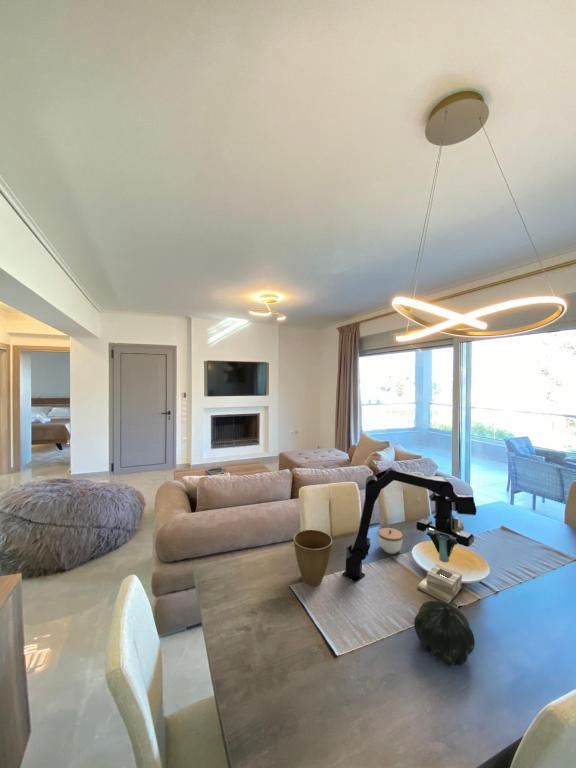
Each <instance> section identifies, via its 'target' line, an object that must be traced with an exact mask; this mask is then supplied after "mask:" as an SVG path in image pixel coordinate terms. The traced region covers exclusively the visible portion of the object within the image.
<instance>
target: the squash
mask: <svg viewBox="0 0 576 768" xmlns="http://www.w3.org/2000/svg"><path fill="white" fill-rule="evenodd" d="M413 624H414V625H413V626H414V627H413V628H414V631H415V634H416V636H417V638H418V639H419V641H420V642H421V645H422V647H423V648H424V650H425V651H426V652H428V653H431V655H432V656H433V657H435V658H438V659H439V658H440V659H441V661H442V662H443V664H445V665H447V666H448V667H449V666H452V665H454V664H455V665H458V666H460V665H463V664H465V663H466V662H467V660H468V657H469V655H470V654H472V652H473V651H474V649H475V644H476V642H475V641H476V640H475V637H474V633H473V630H472V628H471V626H470V623H469V621H468V619H467V617H466V615H465V614H464V613H463V612H462V611H461V610H459V608H456V607H455V606H453V605H452V604H450V603H449V604H448V603H446V602H444V601H442V600H429V601H425V602H423V603H422V604H421V606H420V608H419V610H418V612H417V614H416V616H415V618H414V621H413Z"/></svg>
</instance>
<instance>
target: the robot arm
mask: <svg viewBox="0 0 576 768" xmlns="http://www.w3.org/2000/svg"><path fill="white" fill-rule="evenodd" d="M394 481H395V482H398V483H399V482H400V483H403V484H407V485H408V484H409V485H412V486H415V487H418V488H424V489H426V490H427V491H430V492H432V494H429V496H428V498H429V500H430V501H431V502H434V515H433V519H434V524H435V525H434V524H433V521H432V520H430V519H426V518H422V519H420V520H418V521H417V522H416V523H415V529H416V530H417V531H420V532H422V533H423V532H425V531H426V530H427V533H426V535H427V536H429V538H430V540H431V542H432V543H433V545H434V547H435V550H436V551H437V553H438V554H439V537H440V536H441V534H442V535H445V536H448V537H449V538H448V539H449V540H448V541H447V554H448V557H449V558H450V557H451V555H452V553H453V550H454V547H455V546H456V545H457V544H458V545H462V546H464V547H467V548H469V547H470V546H471V545H473V543H475V535H473V533H471V532H468V531H464V530H463V531H461V532H459V533H458V532H454V531H452V530H454V529H455V527H456V528H457V527H458V519H455V518H456V517H454V514H453V511H454V512H456V514H457V515H466V516H476V514H477V507H476V503H475V500H474V499H475V498H474V496H473V495H472V494H471V495H470V494H467V495H466V494H464V495H463V494H457V493H456V492H455V490H454V486H453V484H452V483H451V482H450V481H449V480H448V479H447V478H446V477H445V476H437V475H430V476H429V475H427V476H426V475H422V474H417V473H413V472H408V471H405V470H401V469H396V468H394V467H388V468H387V469H385V470H383V471H380V472H377V473H376V474H374V475H373V474H372V475H368V476H367V477H366V479H365V481H364V482H365V483H364V484H365V486H364V501H363V504H362V505H363V506H362V510H361V515H360V519H359V524H358V528H357V531H356V533H355V535H354V536H353V539H352V541H351V544H350V545H349V546H348V547H346V552H345V554H346V555H345V571H344V572H342V576H344V577H346V578H347V579H349V580H351V581H353V582H355V583H356V582H358V581H360V580H361V579H362V578H364V577H365V576H366V573H365V572H363V560H366V558H367V557H368V556H369V550H370V547H371V538H370V537H368V535H369V531H370V530H369V529H370V525H371V520H372V516H373V511H374V507H375V503H376V502H377V500H378V497H379V496H380V494H381V491H382V490H383V489H385V488H386V487H387V486H388V485H390V484H392V482H394Z"/></svg>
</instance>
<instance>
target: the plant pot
mask: <svg viewBox="0 0 576 768" xmlns="http://www.w3.org/2000/svg"><path fill="white" fill-rule="evenodd" d="M293 544H294V545H293V546H294V551H295V557H296V561H297V566H298V568H299V572H300V575H301V578H302V580H303V583H305V584H306V585H308V586H318V585H320V584H321V583H322V581H323V579H324V576H325V574H326V570H327V568H328V564H329V560H330V555H331V552H332V546H333V539H332V536H330V534H329V533H328V532H327V533H326V532H324V531H322V530H318V529H305V530H301V531H299V532H298V531H297V533H295V535H294V536H293Z"/></svg>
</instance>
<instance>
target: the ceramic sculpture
mask: <svg viewBox="0 0 576 768" xmlns="http://www.w3.org/2000/svg"><path fill="white" fill-rule="evenodd" d="M454 518H455V519H458V527H457V528H456V527H455V529H454V530H452V531H454V532H458V533H459V532H461V531H464V530H465V527H464V523H463V521H462V519H461V517H460V516H458V517H454Z"/></svg>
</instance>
